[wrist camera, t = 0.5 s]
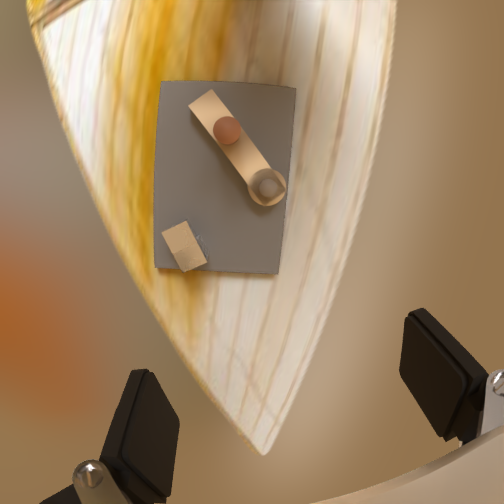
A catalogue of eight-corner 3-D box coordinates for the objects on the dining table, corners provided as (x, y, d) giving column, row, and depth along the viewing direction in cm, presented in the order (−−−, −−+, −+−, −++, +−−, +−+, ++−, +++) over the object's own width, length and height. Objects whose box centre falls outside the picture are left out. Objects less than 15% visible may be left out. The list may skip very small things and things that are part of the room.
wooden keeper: (190, 214, 33) (186, 220, 30) (209, 252, 35) (207, 262, 32) (167, 225, 33) (161, 232, 30) (186, 262, 35) (182, 273, 32)
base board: (164, 84, 29) (161, 81, 28) (293, 90, 31) (296, 88, 29) (157, 263, 36) (154, 267, 35) (276, 269, 38) (278, 274, 36)
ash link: (290, 189, 33) (304, 199, 26) (261, 210, 33) (268, 224, 27) (216, 89, 29) (212, 73, 22) (186, 110, 29) (174, 100, 23)
